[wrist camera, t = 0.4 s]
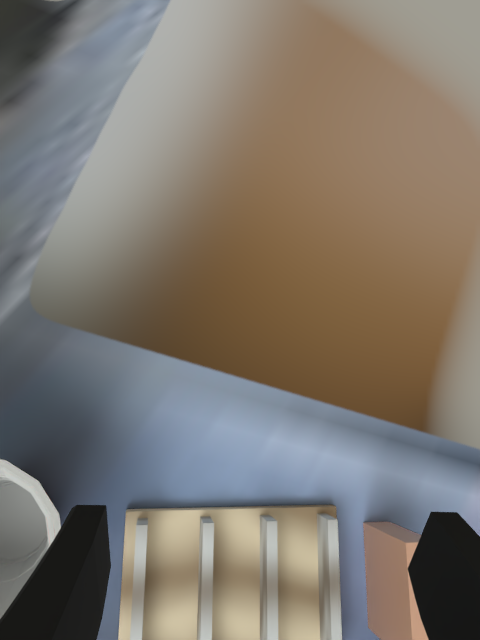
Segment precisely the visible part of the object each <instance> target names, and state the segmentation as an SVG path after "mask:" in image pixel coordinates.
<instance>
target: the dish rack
mask: <svg viewBox="0 0 480 640" xmlns="http://www.w3.org/2000/svg"><path fill="white" fill-rule="evenodd" d="M118 640H342V626H341V599H340V571H339V544H338V519H337V515H336V506H334V505H289V506H245V507H201V508H157V509H127V510H126V519H125V536H124V553H123V570H122V586H121V603H120V620H119V637H118Z"/></svg>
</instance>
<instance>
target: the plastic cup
mask: <svg viewBox="0 0 480 640" xmlns="http://www.w3.org/2000/svg"><path fill="white" fill-rule="evenodd" d="M60 529H61V525H60V517H59V513H58V511H57V510H56V508H55V507H54V505H53V503H52V501H51V499H50V498H49V496H48V494H47V493H46V491H45V490H44V489H43V487H42V486H41V484H40V483H39V481H38V480H36V479H34V478H33V477H31V476H30V475H28V474H27V473H25V472H23V471H22V470H20V469H19V468H17V467H16V466H14V465H12V464H11V463H9V462H8V461H6V460H1V459H0V619H1V617H2V616H3V615H4V613H5V612H6V610H7V609H8V608H9V606H10V605H11V603H12V602H13V600H14V599H15V597H16V596H17V595H18V593H19V592H20V590H21V589H22V587H23V586H24V584H25V583H26V582H27V580H28V579H29V577H30V576H31V574H32V573H33V571H34V570H35V568H36V567H37V565H38V564H39V562H40V561H41V559H42V557H43V556H44V554H45V553H46V551H47V550H48V548H49V547H50V545H51V543H52V542H53V540H54V539H55V537H56V535H57V534H58V532H59V530H60Z"/></svg>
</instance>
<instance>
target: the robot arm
mask: <svg viewBox="0 0 480 640" xmlns="http://www.w3.org/2000/svg"><path fill="white" fill-rule="evenodd" d="M110 568H111V562H110V549H109V537H108V524H107V511H106V505H76V506H75V507H73V508H72V509H71V511H70V513H69V515H68V516H67V518H66V520H65V522H64V523H63V525H62V527H61V529H60V530H59V532H58V534H57V535H56V537H55V539H54V540H53V542H52V543H51V545H50V547H49V548H48V550H47V551H46V553H45V554H44V556H43V557H42V559H41V561H40V562H39V564H38V565H37V567H36V568H35V570H34V571H33V573H32V574H31V576H30V577H29V579H28V580H27V582H26V583H25V584H24V586H23V587H22V589H21V590H20V592H19V593H18V595H17V596H16V597H15V599H14V600H13V602H12V603H11V605H10V606H9V608H8V609H7V610H6V612H5V613H4V615H3V616H2V617H1V619H0V640H96V639H97V635H98V631H99V628H100V624H101V620H102V615H103V609H104V603H105V598H106V592H107V586H108V580H109V574H110ZM408 572H409V576H410V580H411V584H412V588H413V592H414V596H415V600H416V603H417V607H418V610H419V614H420V617H421V620H422V623H423V626H424V629H425V631H426V634H427V637H428V639H429V640H480V537H479V535H478V534H477V533H476V532H475V531H474V530H473V529H472V528H471V527H470V526H469V525H468V524H467V523H466V521H465V520H464V519H463V518H462V517H461V516H460V515H459V514H458V513H457V512H431V513H430V516H429V518H428V520H427V523H426V525H425V528H424V530H423V533H422V535H421V537H420V540H419V542H418V545H417V547H416V549H415V552H414V554H413V557H412V559H411V562H410V564H409V566H408Z"/></svg>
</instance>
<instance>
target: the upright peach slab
mask: <svg viewBox="0 0 480 640" xmlns="http://www.w3.org/2000/svg"><path fill="white" fill-rule="evenodd" d="M363 527H364V548H365V569H366V590H367V611H368V628H369V629H370V630H371V631H372V632H373V633H374V634H375V635H377V636H378V637H379V638H380V639H381V640H429V639H428V637H427V634H426V631H425V629H424V626H423V623H422V620H421V617H420V614H419V610H418V607H417V603H416V600H415V596H414V592H413V588H412V584H411V580H410V576H409V572H408V566H409V564H410V562H411V559H412V557H413V554H414V552H415V549H416V547H417V545H418V542H419V540H420V537H421V535H420V534H417V533H415V532H413V531H410V530H408V529H406V528H403V527H401V526H398V525H396V524H394V523H391V522H363Z"/></svg>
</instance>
